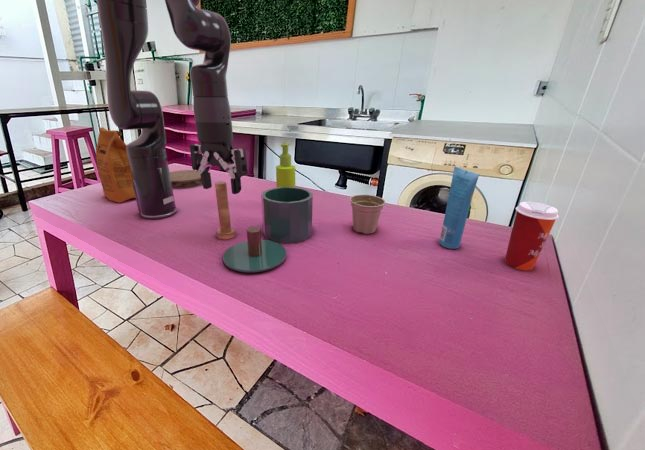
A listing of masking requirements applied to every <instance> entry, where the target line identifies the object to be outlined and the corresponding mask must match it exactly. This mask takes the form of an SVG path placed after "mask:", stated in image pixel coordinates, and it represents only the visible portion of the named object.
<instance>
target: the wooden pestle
mask: <svg viewBox="0 0 645 450" xmlns="http://www.w3.org/2000/svg"><path fill="white" fill-rule="evenodd" d="M214 187H215V189H214V190H215V196H216V205H217V213H218V220H219V228H218V229H216V236H217V238H218V239H219V240H231V239H233V238H235V237H236V229H235V227H232V225H231V223H232V222H231V213H230V206H229V195H228V185H227V182H226V181H223V180H219V181H216V182H214Z"/></svg>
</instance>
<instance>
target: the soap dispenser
mask: <svg viewBox="0 0 645 450" xmlns="http://www.w3.org/2000/svg"><path fill="white" fill-rule="evenodd" d="M291 145H292V143H291V142H282V143H281V144H280V147H281V148H282V153H281V154H279V164H278V165H276V166H275V180H276V181H275V182H276V188H277V187H296V166H295V165H293V164H292V155H291V154H290V153H289V146H291Z"/></svg>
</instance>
